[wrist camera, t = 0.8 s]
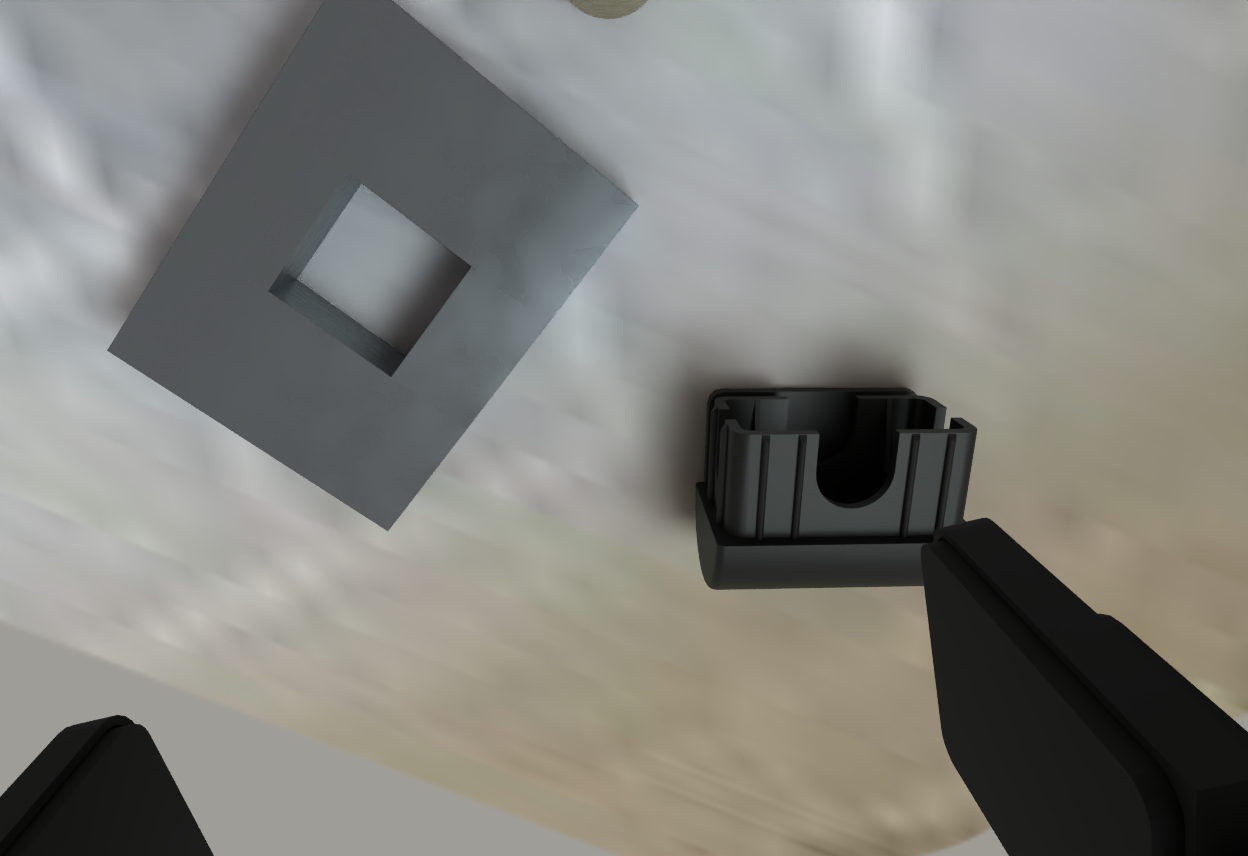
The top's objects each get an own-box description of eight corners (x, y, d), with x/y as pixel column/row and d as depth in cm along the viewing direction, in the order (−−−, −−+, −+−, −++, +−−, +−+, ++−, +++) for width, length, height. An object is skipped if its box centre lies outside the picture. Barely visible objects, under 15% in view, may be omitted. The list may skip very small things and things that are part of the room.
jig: (371, -17, 28) (347, -37, 25) (633, 201, 31) (638, 205, 28) (149, 333, 32) (107, 350, 29) (403, 501, 34) (387, 531, 32)
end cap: (690, 538, 36) (713, 620, 29) (696, 388, 34) (723, 441, 27) (906, 535, 36) (975, 615, 30) (926, 386, 34) (1006, 438, 28)
